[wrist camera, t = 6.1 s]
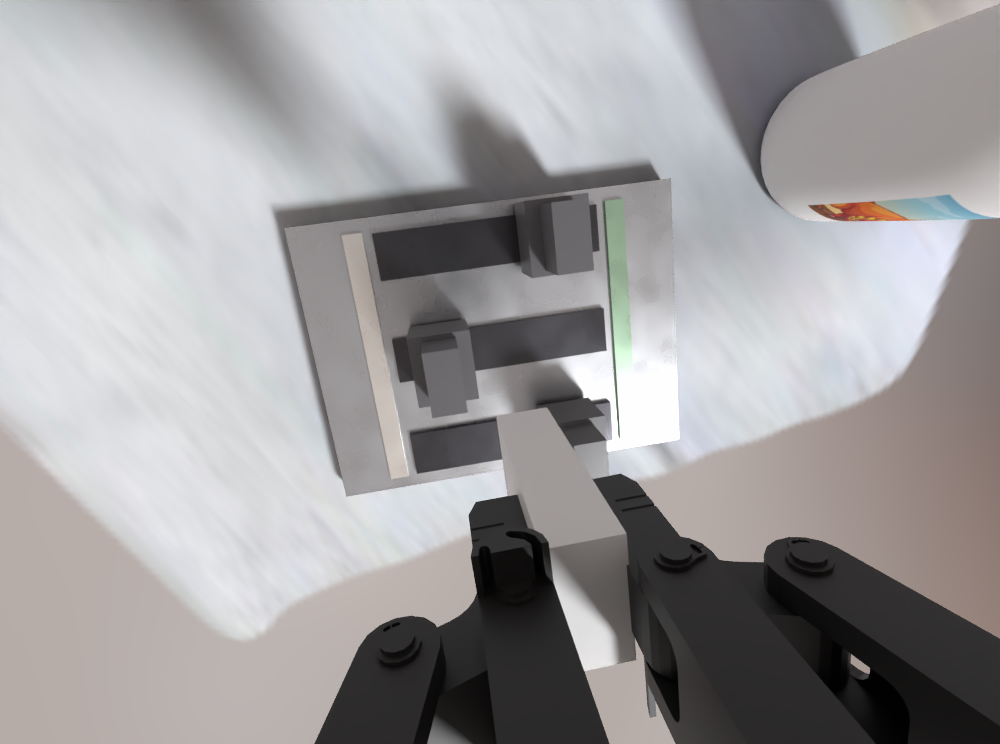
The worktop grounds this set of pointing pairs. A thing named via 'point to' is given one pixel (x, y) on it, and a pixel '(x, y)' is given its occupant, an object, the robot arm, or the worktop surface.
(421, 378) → the handle mid
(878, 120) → the milk bottle
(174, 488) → the worktop surface
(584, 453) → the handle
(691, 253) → the worktop surface
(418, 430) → the panel
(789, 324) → the worktop surface
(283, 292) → the worktop surface
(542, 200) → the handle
